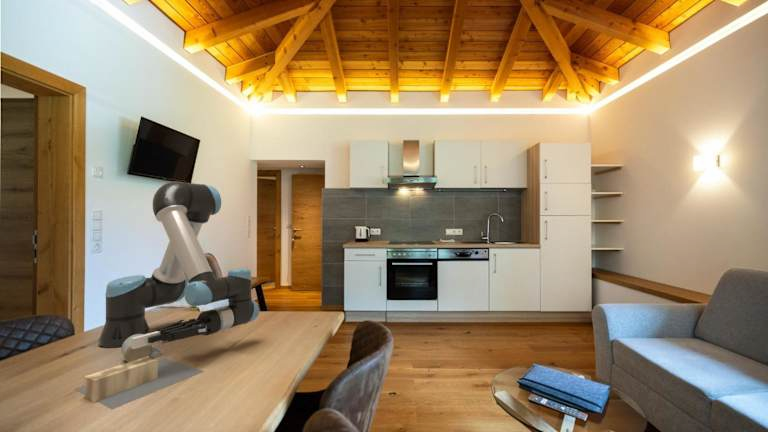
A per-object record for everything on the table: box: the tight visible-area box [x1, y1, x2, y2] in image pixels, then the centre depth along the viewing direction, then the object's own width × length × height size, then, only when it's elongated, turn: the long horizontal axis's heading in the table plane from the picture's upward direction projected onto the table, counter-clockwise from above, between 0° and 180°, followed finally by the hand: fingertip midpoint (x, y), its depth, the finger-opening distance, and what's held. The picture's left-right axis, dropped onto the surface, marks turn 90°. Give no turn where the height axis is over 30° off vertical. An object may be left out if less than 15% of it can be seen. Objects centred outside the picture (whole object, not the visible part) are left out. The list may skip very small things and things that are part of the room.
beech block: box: [83, 356, 159, 403], centre depth 85 cm, size 5×5×14 cm
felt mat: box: [74, 358, 205, 410], centre depth 89 cm, size 20×22×1 cm
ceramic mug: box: [121, 334, 164, 363], centre depth 105 cm, size 11×8×8 cm
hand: (132, 343), depth 87 cm, fingers closed
